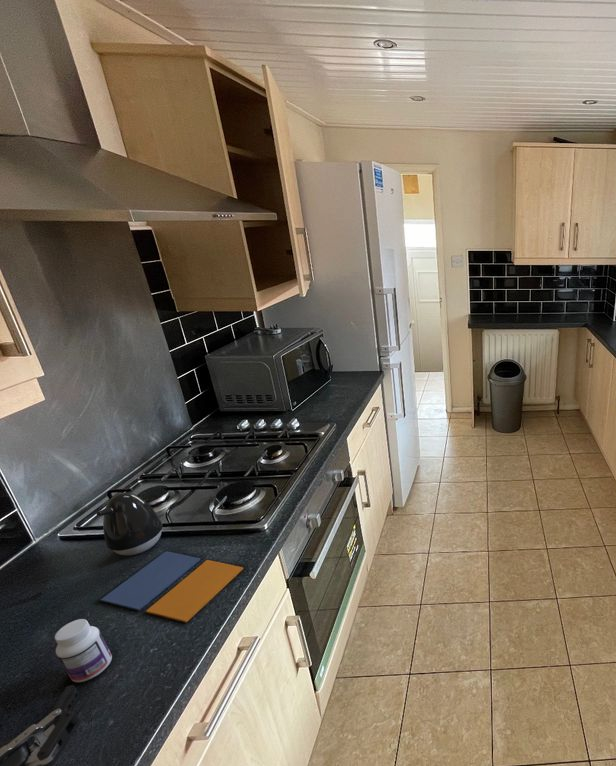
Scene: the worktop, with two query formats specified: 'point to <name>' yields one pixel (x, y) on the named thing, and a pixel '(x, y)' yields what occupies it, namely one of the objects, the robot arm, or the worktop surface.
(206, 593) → the amber mat
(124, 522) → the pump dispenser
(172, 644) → the worktop surface
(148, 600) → the slate mat
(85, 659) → the pill bottle
